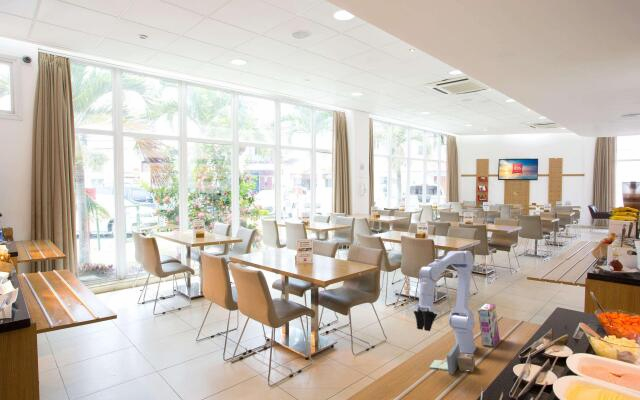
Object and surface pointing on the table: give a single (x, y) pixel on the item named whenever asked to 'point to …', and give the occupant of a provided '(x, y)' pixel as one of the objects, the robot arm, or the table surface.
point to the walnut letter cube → (466, 362)
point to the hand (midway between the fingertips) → (423, 330)
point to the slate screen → (453, 359)
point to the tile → (442, 366)
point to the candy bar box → (488, 324)
